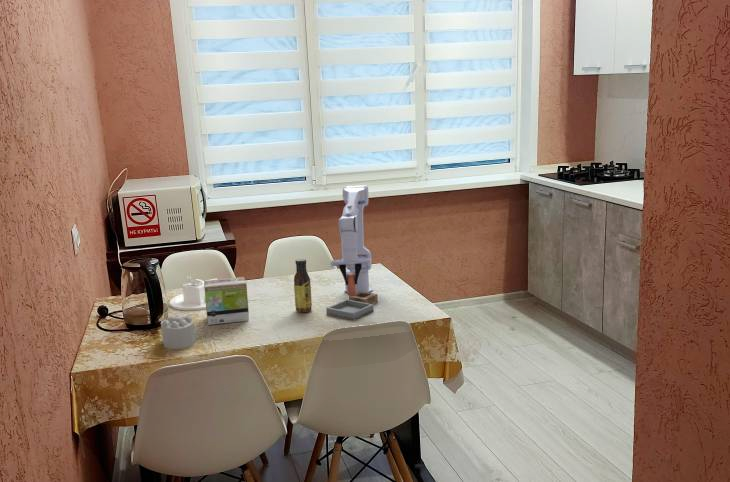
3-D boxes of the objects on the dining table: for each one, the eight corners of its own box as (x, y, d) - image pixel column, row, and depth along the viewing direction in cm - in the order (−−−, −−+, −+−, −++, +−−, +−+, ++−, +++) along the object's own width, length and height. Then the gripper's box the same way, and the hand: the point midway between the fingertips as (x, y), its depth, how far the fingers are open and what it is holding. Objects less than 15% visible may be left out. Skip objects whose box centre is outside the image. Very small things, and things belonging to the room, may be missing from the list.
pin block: (349, 303, 255) (348, 296, 254) (361, 298, 261) (361, 291, 260) (365, 307, 250) (364, 299, 249) (377, 301, 256) (377, 294, 255)
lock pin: (346, 295, 245) (345, 275, 243) (351, 293, 247) (350, 273, 245) (352, 296, 243) (351, 276, 241) (357, 294, 245) (356, 274, 243)
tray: (326, 314, 244) (326, 307, 243) (346, 305, 253) (346, 299, 252) (353, 320, 236) (353, 313, 235) (373, 310, 245) (373, 304, 245)
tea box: (208, 326, 237) (204, 287, 233) (207, 317, 246) (203, 280, 243) (249, 321, 240) (246, 282, 237) (247, 312, 250) (244, 275, 247)
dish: (196, 315, 251) (193, 286, 248) (157, 304, 266) (154, 278, 263) (244, 297, 270) (242, 271, 267) (205, 289, 285) (202, 264, 282)
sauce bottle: (309, 313, 245) (306, 262, 241) (293, 313, 247) (289, 262, 242) (314, 307, 252) (311, 257, 247) (298, 307, 253) (295, 257, 249)
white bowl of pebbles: (191, 333, 230) (188, 310, 228) (199, 345, 218) (196, 321, 216) (161, 339, 225) (158, 316, 223) (167, 352, 214) (164, 327, 212)
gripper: (329, 251, 237) (331, 288, 240) (369, 249, 237) (371, 285, 240) (329, 247, 244) (331, 282, 247) (368, 245, 244) (370, 280, 247)
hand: (351, 283), depth 244 cm, fingers closed on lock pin, 3 cm apart
